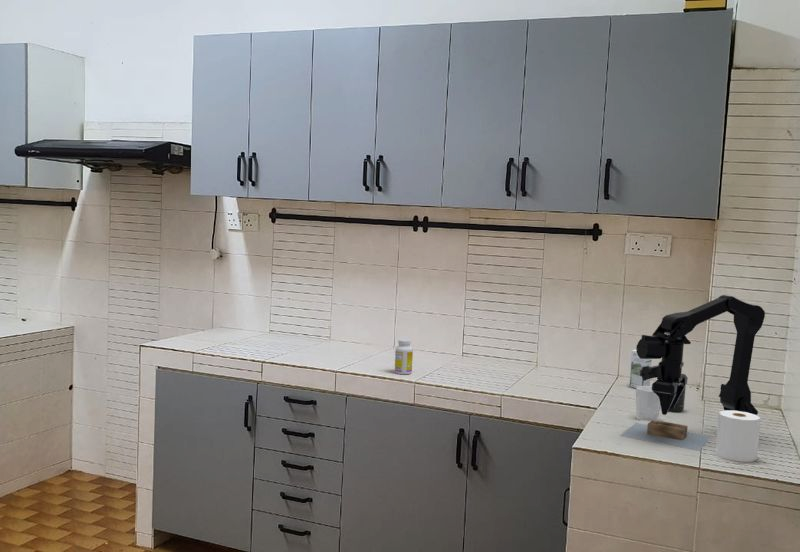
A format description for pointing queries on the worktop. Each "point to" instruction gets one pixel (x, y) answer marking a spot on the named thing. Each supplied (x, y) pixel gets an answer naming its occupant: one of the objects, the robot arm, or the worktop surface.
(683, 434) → the brown wooden block
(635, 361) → the syrup box
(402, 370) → the supplement bottle
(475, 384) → the worktop surface
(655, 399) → the white cup
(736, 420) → the toilet paper
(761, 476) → the worktop surface
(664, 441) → the grey board
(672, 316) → the robot arm
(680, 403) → the supplement bottle
